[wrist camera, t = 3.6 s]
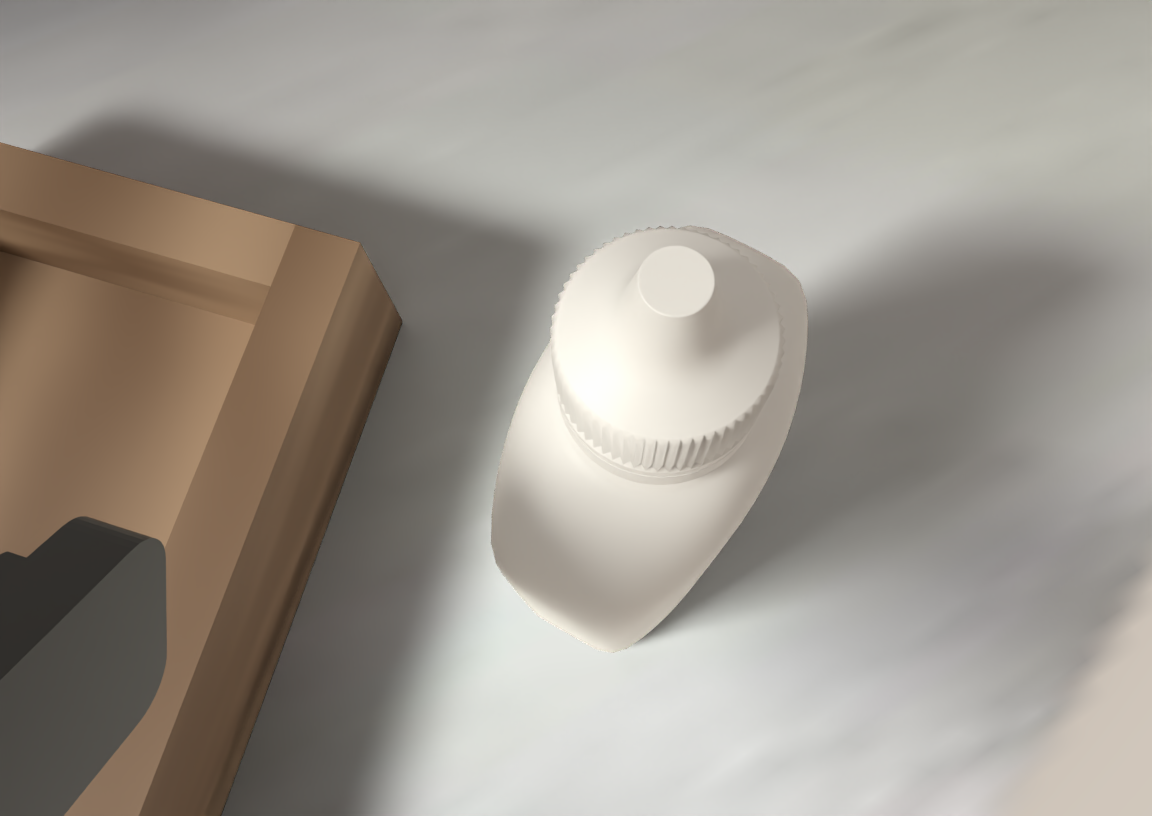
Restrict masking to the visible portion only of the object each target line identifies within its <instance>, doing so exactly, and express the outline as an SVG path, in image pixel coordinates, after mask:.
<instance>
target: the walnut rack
mask: <svg viewBox="0 0 1152 816" xmlns="http://www.w3.org/2000/svg"><path fill="white" fill-rule="evenodd" d="M402 322H403V321H402V319H401V318H400V316H399V314H398V312H397V310H396V308H395V306H394V305H393V303H392V301H391V299H390V297H389V295H388V293H387V292H386V290H385V288H384V286H383V284H382V282H381V280H380V279H379V277H378V275H377V273H376V271H375V269H374V267H373V266H372V264H371V262H370V260H369V258H368V256H367V254H366V253H365V251H364V249H363V247H362V245H361V243H360V242H356V241H353V240H349V239H345V238H342V237H338V236H335V235H331V234H328V233H324V232H320V231H317V230H313V229H310V228H306V227H302V226H299V225H295V224H292V223H288V222H284V221H281V220H277V219H274V218H270V217H266V216H263V215H259V214H256V213H252V212H249V211H245V210H241V209H238V208H234V207H231V206H227V205H223V204H220V203H216V202H213V201H209V200H205V199H202V198H198V197H195V196H191V195H187V194H184V193H180V192H177V191H173V190H169V189H166V188H162V187H159V186H155V185H152V184H148V183H144V182H141V181H137V180H134V179H130V178H126V177H123V176H119V175H116V174H112V173H108V172H105V171H101V170H98V169H94V168H90V167H87V166H83V165H80V164H76V163H72V162H69V161H65V160H62V159H58V158H55V157H51V156H47V155H44V154H40V153H37V152H33V151H29V150H26V149H22V148H19V147H15V146H11V145H8V144H4V143H1V142H0V554H2V553H4V552H7V551H8V552H11V553H14V554H17V555H20V556H23V557H26V558H27V557H28V556H29V555H30V554H31V553H32V552H33V551H35V550H36V549H37V548H38V547H39V546H40V545H41V544H43V543H44V542H45V541H46V540H47V539H48V538H49V537H51V536H52V535H53V534H54V533H55V532H56V531H57V530H59V529H60V528H61V527H62V526H63V525H65V524H66V523H67V522H69V521H70V520H72V519H74V518H77V517H80V516H87V517H90V518H93V519H96V520H99V521H102V522H105V523H109V524H112V525H115V526H118V527H121V528H124V529H127V530H131V531H134V532H137V533H140V534H143V535H146V536H149V537H152V538H155V539H158V540H160V541H161V542H162V544H163V546H164V549H165V553H166V613H167V659H166V665H165V670H164V674H163V677H162V680H161V683H160V686H159V688H158V691H157V693H156V695H155V697H154V700H153V702H152V703H151V705H150V707H149V709H148V710H147V712H146V713H145V715H144V717H143V718H142V719H141V721H140V722H139V723H138V725H137V726H136V727H135V728H134V729H133V731H132V732H131V733H130V734H129V736H128V737H127V738H126V739H125V741H124V742H123V743H122V744H121V746H120V747H119V748H118V749H117V751H116V752H115V753H114V754H113V755H112V757H111V758H110V759H109V760H108V762H107V763H106V764H105V765H104V767H103V768H102V769H101V770H100V772H99V773H98V774H97V775H96V776H95V778H94V779H93V780H92V781H91V783H90V784H89V785H88V786H87V788H86V789H85V790H84V791H83V793H82V794H81V795H80V796H79V797H78V799H77V800H76V801H75V802H74V804H73V805H72V806H71V807H70V809H69V810H68V811H67V812H66V814H65V815H64V816H221V814H222V811H223V809H224V806H225V803H226V800H227V798H228V795H229V792H230V790H231V787H232V784H233V781H234V779H235V776H236V773H237V771H238V768H239V765H240V762H241V760H242V757H243V754H244V752H245V749H246V746H247V743H248V741H249V738H250V735H251V732H252V730H253V727H254V724H255V722H256V719H257V716H258V713H259V711H260V708H261V705H262V703H263V700H264V697H265V694H266V692H267V689H268V686H269V684H270V681H271V678H272V675H273V673H274V670H275V667H276V665H277V662H278V659H279V656H280V654H281V651H282V648H283V645H284V643H285V640H286V637H287V635H288V632H289V629H290V626H291V624H292V621H293V618H294V616H295V613H296V610H297V607H298V605H299V602H300V599H301V597H302V594H303V591H304V588H305V586H306V583H307V580H308V577H309V575H310V572H311V569H312V567H313V564H314V561H315V558H316V556H317V553H318V550H319V548H320V545H321V542H322V539H323V537H324V534H325V531H326V529H327V526H328V523H329V520H330V518H331V515H332V512H333V510H334V507H335V504H336V501H337V499H338V496H339V493H340V490H341V488H342V485H343V482H344V480H345V477H346V474H347V471H348V469H349V466H350V463H351V461H352V458H353V455H354V452H355V450H356V447H357V444H358V442H359V439H360V436H361V433H362V431H363V428H364V425H365V422H366V420H367V417H368V414H369V412H370V409H371V406H372V403H373V401H374V398H375V395H376V393H377V390H378V387H379V384H380V382H381V379H382V376H383V374H384V371H385V368H386V365H387V363H388V360H389V357H390V354H391V352H392V349H393V346H394V344H395V341H396V338H397V335H398V333H399V330H400V327H401V325H402Z"/></svg>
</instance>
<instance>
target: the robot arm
mask: <svg viewBox="0 0 1152 816" xmlns="http://www.w3.org/2000/svg"><path fill="white" fill-rule="evenodd" d="M166 659H167V613H166V553H165V549H164V546H163V544H162V542H161V541H160V540H158V539H155V538H152V537H149V536H146V535H143V534H140V533H137V532H134V531H131V530H127V529H124V528H121V527H118V526H115V525H112V524H109V523H105V522H102V521H99V520H96V519H93V518H90V517H87V516H80V517H77V518H74V519H72V520H70V521H69V522H67V523H66V524H65V525H63V526H62V527H61V528H60V529H59V530H57V531H56V532H55V533H54V534H53V535H52V536H51V537H49V538H48V539H47V540H46V541H45V542H44V543H43V544H41V545H40V546H39V547H38V548H37V549H36V550H35V551H33V552H32V553H31V554H30V555H29V556H28V557H27V558H26V557H23V556H20V555H17V554H14V553H11V552H8V551H7V552H4V553H2V554H0V816H64V815H65V814H66V812H67V811H68V810H69V809H70V807H71V806H72V805H73V804H74V802H75V801H76V800H77V799H78V797H79V796H80V795H81V794H82V793H83V791H84V790H85V789H86V788H87V786H88V785H89V784H90V783H91V781H92V780H93V779H94V778H95V776H96V775H97V774H98V773H99V772H100V770H101V769H102V768H103V767H104V765H105V764H106V763H107V762H108V760H109V759H110V758H111V757H112V755H113V754H114V753H115V752H116V751H117V749H118V748H119V747H120V746H121V744H122V743H123V742H124V741H125V739H126V738H127V737H128V736H129V734H130V733H131V732H132V731H133V729H134V728H135V727H136V726H137V725H138V723H139V722H140V721H141V719H142V718H143V717H144V715H145V713H146V712H147V710H148V709H149V707H150V705H151V703H152V702H153V700H154V697H155V695H156V693H157V691H158V688H159V686H160V683H161V680H162V677H163V674H164V670H165V665H166Z"/></svg>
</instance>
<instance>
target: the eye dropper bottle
mask: <svg viewBox="0 0 1152 816" xmlns="http://www.w3.org/2000/svg"><path fill="white" fill-rule="evenodd" d="M569 276H570V281H568V282H566V283H564V284H563V288H564V291H563V292H561V293H560V294H558V299H559V302H558V303H556V304H555V305H554V309H555V314H554V315H552V316H551V318H552V326H551V327H550V333H551V339H550V342H549V344H548V345H547V347H546V348H545V350H544V351H543V353H542V355H541V357H540V359H539V360H538V362H537V364H536V366H535V368H534V369H533V371H532V373H531V375H530V377H529V379H528V381H527V384H526V386H525V388H524V390H523V392H522V394H521V397H520V399H519V402H518V404H517V407H516V410H515V412H514V415H513V417H512V421H511V424H510V427H509V430H508V434H507V437H506V440H505V444H504V448H503V452H502V456H501V460H500V464H499V468H498V474H497V479H496V485H495V490H494V499H493V508H492V527H491V545H492V549H493V553H494V557H495V561H496V564H497V566H498V568H499V569H500V571H501V573H502V574H503V576H504V577H505V578H506V579H507V581H508V582H509V583H510V585H511V586H512V587H513V588H514V590H515V591H516V592H517V593H518V595H519V596H520V597H521V598H522V599H523V601H524V602H525V603H526V604H527V605H528V606H529V607H530V608H531V609H532V611H533V612H534V613H535V614H536V615H537V616H539V617H540V618H542V619H543V620H545V621H547V622H548V623H550V624H551V625H553V626H555V627H557V628H558V629H560V630H562V631H564V632H565V633H567V634H569V635H571V636H572V637H574V638H576V639H578V640H579V641H581V642H583V643H585V644H587V645H589V646H591V647H593V648H595V649H596V650H600V651H605V652H609V653H615V652H618V651H621V650H624V649H627V648H629V647H630V646H632V645H633V644H635V643H636V642H637V641H639V640H640V639H642V638H643V637H644V636H645V635H646V634H648V633H649V632H650V631H651V630H652V629H654V628H655V627H656V626H657V625H658V624H659V623H660V622H661V621H662V620H663V619H664V618H665V617H666V616H667V615H668V614H669V613H670V612H671V611H672V610H673V609H674V608H675V607H676V606H677V605H678V604H679V603H680V601H681V600H682V599H683V598H684V597H685V595H686V594H687V593H688V592H689V591H690V589H691V588H692V587H693V586H694V584H695V583H696V582H697V581H698V579H699V578H700V577H701V575H702V574H703V573H704V572H705V570H706V569H707V568H708V567H709V565H710V564H711V563H712V561H713V560H714V559H715V558H716V556H717V555H718V554H719V552H720V551H721V550H722V548H723V547H724V546H725V544H726V543H727V542H728V540H729V539H730V537H731V536H732V535H733V533H734V532H735V531H736V529H737V528H738V527H739V525H740V524H741V523H742V521H743V519H744V518H745V516H746V515H747V513H748V512H749V510H750V509H751V507H752V506H753V504H754V503H755V501H756V499H757V497H758V496H759V494H760V492H761V490H762V489H763V487H764V485H765V483H766V482H767V480H768V478H769V476H770V474H771V472H772V470H773V468H774V466H775V464H776V461H777V459H778V457H779V455H780V453H781V450H782V448H783V445H784V443H785V440H786V438H787V435H788V432H789V429H790V426H791V423H792V420H793V417H794V414H795V410H796V406H797V402H798V398H799V394H800V390H801V385H802V379H803V374H804V368H805V360H806V351H807V335H808V315H807V301H806V298H805V295H804V292H803V289H802V287H801V284H800V282H799V280H798V279H797V278H796V277H795V276H794V275H793V274H792V273H791V272H790V271H789V270H788V269H787V268H786V267H785V266H784V265H782V264H780V263H779V262H777V261H775V260H774V259H772V258H770V257H768V256H767V255H765V254H763V253H761V252H759V251H757V250H755V249H753V248H751V247H749V246H747V245H745V244H743V243H741V242H739V241H737V240H735V239H733V238H731V237H728V236H726V235H724V234H721V233H719V232H716V231H714V230H711V229H709V228H702V227H696V226H686V227H682V228H678V229H676V228H675V227H673V226H671V227H669V228H667V229H666V228H663V227H661V226H659V227H658V228H656V229H652V228H649V227H648V228H647V229H646V230H645V231H641V230H636V231H635V232H634V233H633V234H631V233H625V234H624V235H623V237H614V239H613V241H612V242H609V243H603V248H600V249H594V255H590V256H586V257H585V262H584V263H582V264H579V265H577V271H576V272H573V273H571V274H569Z"/></svg>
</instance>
